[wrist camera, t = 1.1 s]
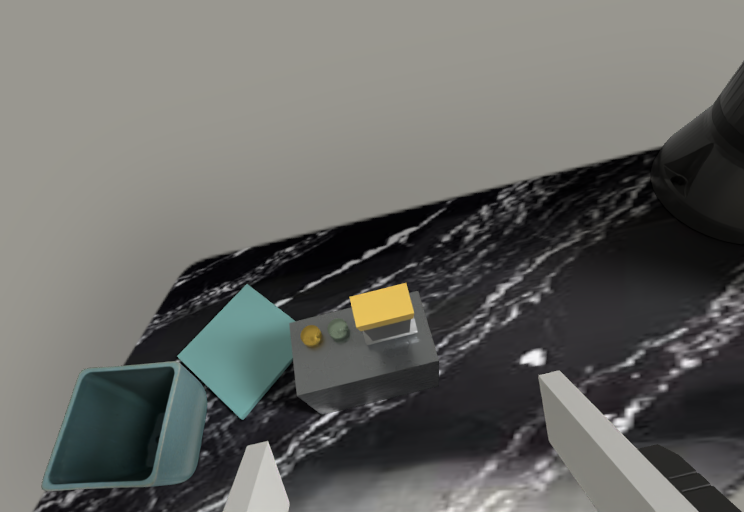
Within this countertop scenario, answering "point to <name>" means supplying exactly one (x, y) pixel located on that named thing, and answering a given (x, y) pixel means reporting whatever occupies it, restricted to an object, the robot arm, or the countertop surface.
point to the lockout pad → (242, 350)
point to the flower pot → (129, 429)
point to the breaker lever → (384, 314)
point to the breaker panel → (359, 361)
